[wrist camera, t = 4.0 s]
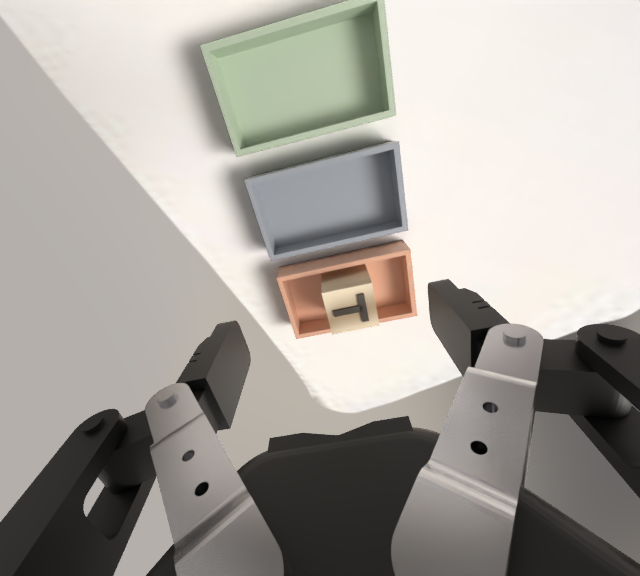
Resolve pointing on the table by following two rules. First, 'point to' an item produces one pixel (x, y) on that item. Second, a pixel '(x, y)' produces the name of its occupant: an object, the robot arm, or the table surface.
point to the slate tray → (330, 201)
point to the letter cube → (349, 299)
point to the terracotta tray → (381, 261)
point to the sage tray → (303, 75)
